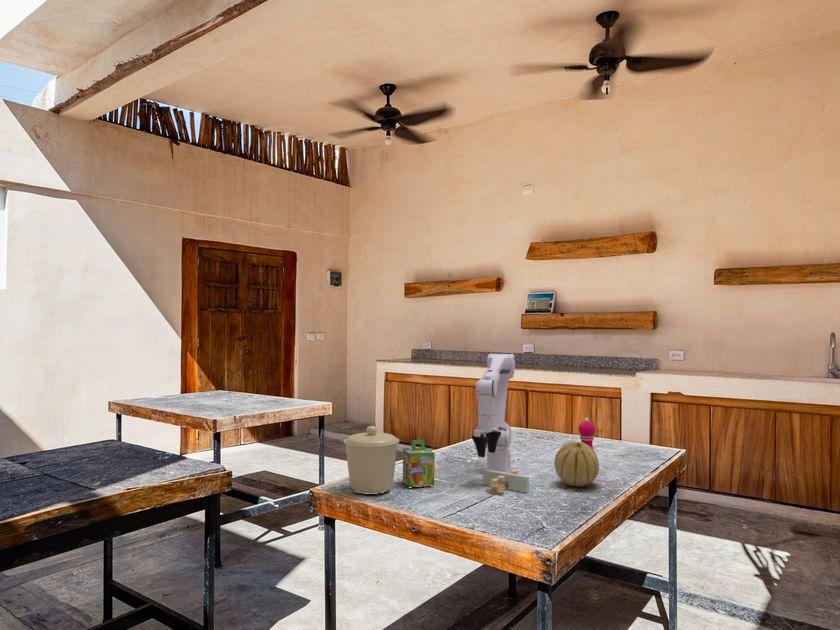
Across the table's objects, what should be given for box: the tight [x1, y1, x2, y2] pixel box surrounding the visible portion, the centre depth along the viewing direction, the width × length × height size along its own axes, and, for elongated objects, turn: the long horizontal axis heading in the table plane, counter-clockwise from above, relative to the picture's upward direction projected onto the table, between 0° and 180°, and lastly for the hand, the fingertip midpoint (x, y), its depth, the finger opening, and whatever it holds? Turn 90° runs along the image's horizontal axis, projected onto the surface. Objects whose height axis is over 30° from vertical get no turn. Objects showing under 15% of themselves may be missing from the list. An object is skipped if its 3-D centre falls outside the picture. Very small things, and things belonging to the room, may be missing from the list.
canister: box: [343, 425, 400, 493], centre depth 186 cm, size 18×18×21 cm
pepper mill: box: [577, 417, 596, 450], centre depth 210 cm, size 7×7×20 cm
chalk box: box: [402, 439, 436, 488], centre depth 193 cm, size 9×9×15 cm
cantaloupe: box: [554, 441, 600, 488], centre depth 192 cm, size 15×15×15 cm
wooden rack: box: [485, 469, 519, 496], centre depth 189 cm, size 16×6×4 cm, turn 145°
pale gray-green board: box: [482, 468, 530, 494], centre depth 189 cm, size 2×16×5 cm, turn 55°
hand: (486, 454), depth 194 cm, fingers open, 7 cm apart
